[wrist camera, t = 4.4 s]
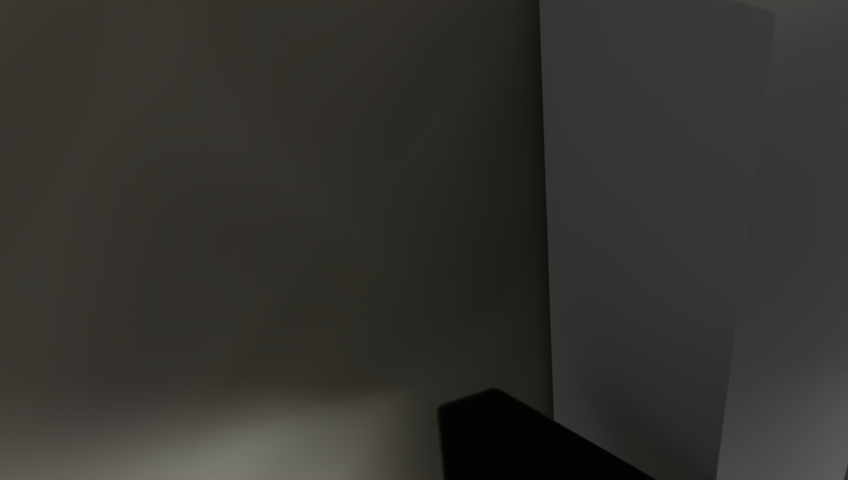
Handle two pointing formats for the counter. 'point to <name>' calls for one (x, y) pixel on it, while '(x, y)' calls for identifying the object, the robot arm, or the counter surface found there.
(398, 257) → the counter surface
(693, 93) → the socket block
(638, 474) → the robot arm
